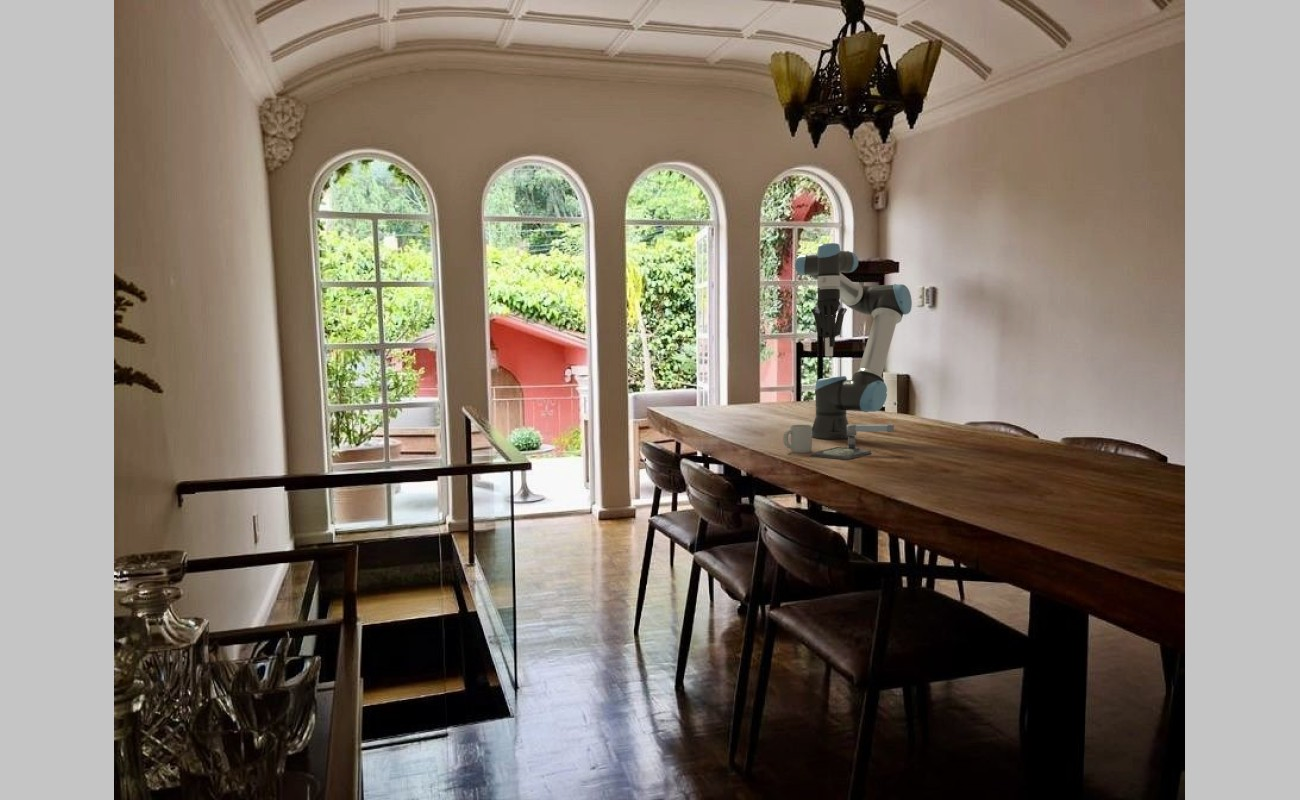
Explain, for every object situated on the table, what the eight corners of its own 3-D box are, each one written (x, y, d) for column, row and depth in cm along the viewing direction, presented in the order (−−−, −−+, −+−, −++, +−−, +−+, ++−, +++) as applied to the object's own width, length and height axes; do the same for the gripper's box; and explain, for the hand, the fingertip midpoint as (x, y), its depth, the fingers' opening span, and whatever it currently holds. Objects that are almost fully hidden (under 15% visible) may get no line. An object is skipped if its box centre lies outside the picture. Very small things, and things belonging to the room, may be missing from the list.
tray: (837, 449, 281) (837, 434, 280) (871, 453, 272) (871, 437, 271) (811, 455, 269) (811, 439, 268) (846, 459, 260) (846, 442, 259)
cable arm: (846, 435, 273) (846, 425, 273) (846, 434, 276) (846, 423, 276) (893, 435, 270) (893, 425, 269) (893, 434, 273) (893, 424, 273)
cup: (814, 452, 276) (814, 426, 275) (786, 453, 275) (786, 427, 274) (808, 449, 283) (808, 424, 282) (780, 450, 282) (780, 425, 281)
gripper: (806, 289, 283) (807, 356, 285) (839, 287, 274) (839, 357, 276) (818, 289, 288) (818, 355, 290) (851, 287, 279) (851, 356, 281)
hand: (829, 356), depth 283 cm, fingers closed
